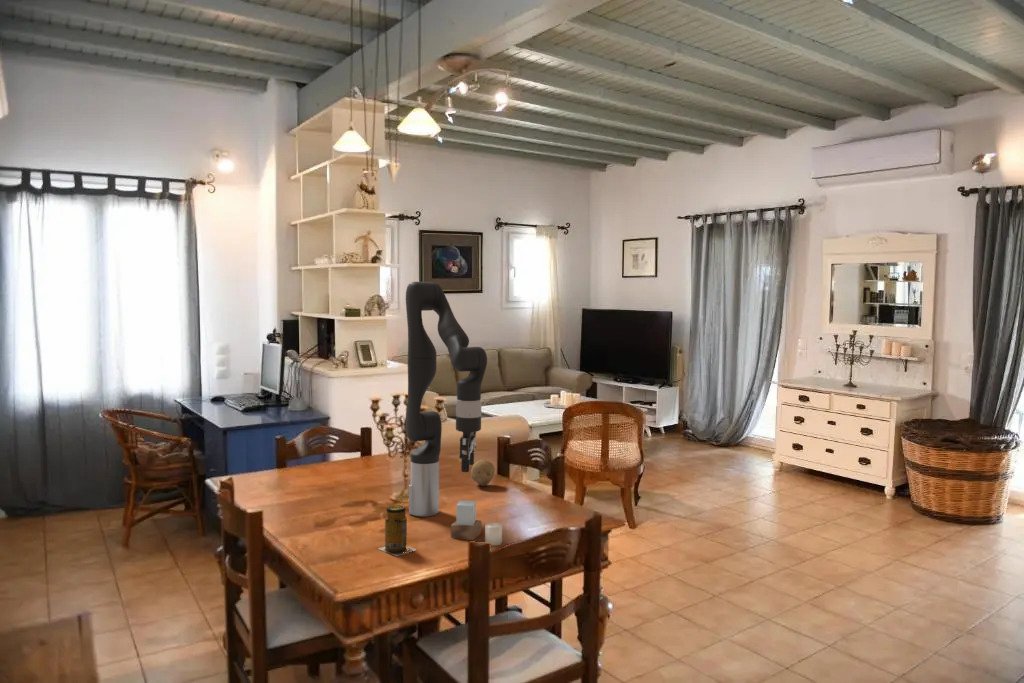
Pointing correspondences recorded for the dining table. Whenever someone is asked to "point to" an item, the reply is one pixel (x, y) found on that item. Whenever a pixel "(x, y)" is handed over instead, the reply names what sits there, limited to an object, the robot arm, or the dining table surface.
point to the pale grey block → (466, 512)
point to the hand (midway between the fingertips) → (467, 468)
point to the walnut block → (466, 530)
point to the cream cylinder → (493, 533)
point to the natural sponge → (482, 472)
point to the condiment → (396, 531)
